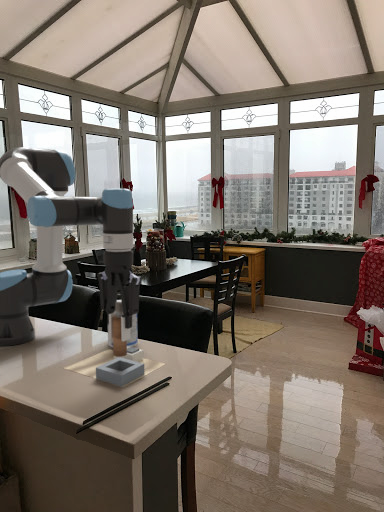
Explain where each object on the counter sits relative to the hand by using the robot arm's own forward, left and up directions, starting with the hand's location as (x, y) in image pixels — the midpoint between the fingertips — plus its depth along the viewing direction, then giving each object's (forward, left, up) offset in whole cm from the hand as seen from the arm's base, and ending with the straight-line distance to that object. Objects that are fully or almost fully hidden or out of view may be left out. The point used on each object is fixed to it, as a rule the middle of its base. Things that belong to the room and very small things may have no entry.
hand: (119, 338), depth 108 cm
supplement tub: (-17, +20, -12) cm, 29 cm away
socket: (0, 0, -11) cm, 11 cm away
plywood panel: (-6, +5, -12) cm, 14 cm away
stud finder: (-6, +10, -11) cm, 16 cm away
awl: (0, 0, -4) cm, 4 cm away
